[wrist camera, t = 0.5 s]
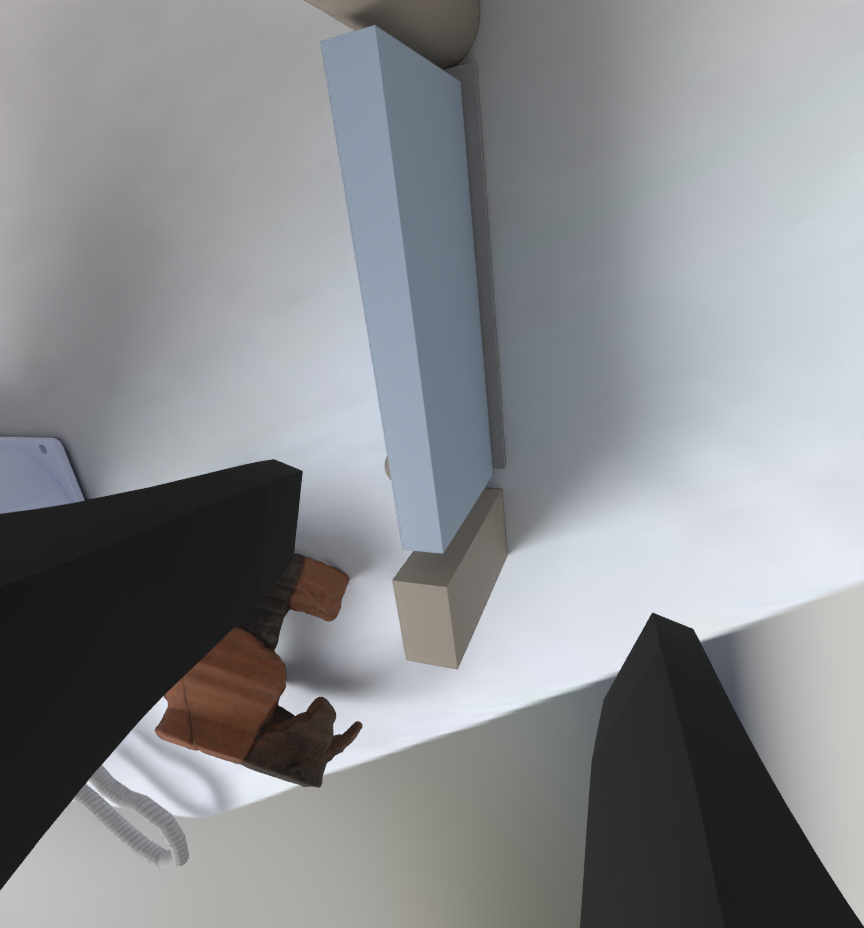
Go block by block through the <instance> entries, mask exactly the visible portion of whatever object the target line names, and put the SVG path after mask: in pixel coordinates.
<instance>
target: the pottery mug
mask: <svg viewBox="0 0 864 928" xmlns="http://www.w3.org/2000/svg"><path fill="white" fill-rule="evenodd" d="M348 582H349V578H348V576H347V575H346V574H344V573H341V572H340V571H339V570H337V569H336V568H334V567H331V566H328V565H326V564H324V563H323V562H319V561H315V560H313V559H311V558H306V557H304V556H302V555H299V554H295V553H294V557H293V561H292V562H291V563H290V565H289V566H288V567H287V569H286V570H285V571H284V573H283V574H282V575H281V577H280V578H279V579H278V580H277V582H276V583H275V584H274V586H273V587H272V588H271V589H270V590H269V592H268V593H267V594H266V595H265V597H264V598H263V599H262V600H261V601H260V603H259V604H258V605H257V606H256V607H255V608H254V609H253V610H252V611H251V612H250V613H249V614H248V615H247V616H246V617H245V618H244V619H243V620H242V621H241V622H240V623H239V624H237V625H236V626H235V627H234V628H233V629H232V630H231V631H230V632H229V633H228V634H227V635H226V636H225V637H224V638H223V639H222V640H221V641H220V642H219V643H218V644H217V645H216V646H215V647H214V648H213V649H212V650H211V651H210V652H209V653H208V654H207V655H205V656H204V657H203V658H202V659H201V660H200V661H199V662H198V663H197V664H196V665H195V666H194V667H193V668H192V669H191V670H190V671H189V672H188V673H187V674H186V675H185V676H184V677H183V678H182V679H181V680H180V681H178V682H177V683H176V684H175V685H174V686H173V687H172V688H171V689H170V690H169V691H168V692H167V693H166V694H165V695H164V698H165V699H166V700H167V701H168V708H167V710H166V712H165V714H164V716H163V718H162V720H161V721H160V723H159V724H158V726H157V727H156V728H155V733H156V734H157V735H158V737H160V738H161V739H163V740H166V741H168V742H171V743H174V744H177V745H180V746H183V747H186V748H188V749H192V750H200V751H201V752H203V753H205V754H208V755H211V756H214V757H217V758H220V759H223V760H226V761H230V762H233V763H236V764H241V765H243V766H245V767H247V768H249V769H252V770H254V771H257V772H260V773H263V774H267V775H269V776H272V777H276V778H279V779H282V780H285V781H288V782H292V783H295V784H299V785H301V786H303V787H310V786H313V787H318V788H319V787H321V784H322V777H323V773H324V770H325V767H326V764H327V762H329V761H331V760H332V759H333V757H334V756H335V755H337V754H339V753H341V752H343V750H344V749H345V748H346V747H347V746H348V745H350V744H351V743H352V742H353V740H354V739H355V738H356V737H357V735H358V733H359V732H360V730H361V728H362V723H361V722H358V721H357V722H355V723H354V724H353V725H352V726H351V727H350V728H349V729H348V730H347V731H346V732H345V733H343V734H342V735H341V734H338V735H334V736H333V723H334V721H335V719H336V712H335V710H334V708H333V707H332V705H331V704H330V703H329V701H328V700H327V699H325V698H324V697H318V698H316V699H315V700H314V701H313V702H312V704H311V705H310V706H309V708H308V710H307V711H306V712H304V713H300V714H298V715H296V716H294V715H293V714H292V713H290V712H288V711H287V710H285V709H284V708H283V707H281V706H279V705H278V702H279V698H280V696H281V695H282V693H283V692H284V690H285V688H286V683H285V681H286V668H285V664H284V662H283V661H282V660H281V658H280V657H279V656H278V655H277V654H276V653H275V651H274V650H275V648H276V646H277V643H278V638H279V634H280V630H281V626H282V623H283V619H284V617H285V616H286V614H287V612H288V611H289V610H294V611H302V612H305V613H307V614H311V615H313V616H316V617H319V618H322V619H324V620H325V621H328V622H329V621H333V620H334V619H335V618H336V617H337V615H338V613H339V611H340V608H341V600H342V597H343V595H344V593H345V590H346V587H347V584H348Z"/></svg>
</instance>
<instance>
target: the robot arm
mask: <svg viewBox="0 0 864 928" xmlns="http://www.w3.org/2000/svg"><path fill="white" fill-rule="evenodd" d="M302 473H303V471H301V470H299V469H296V468H294V467H292V466H289V465H287V464H284V463H282V462H279V461H277V460H274V459H273V460H266V461H260V462H255V463H250V464H246V465H241V466H237V467H232V468H228V469H224V470H220V471H216V472H212V473H207V474H203V475H199V476H195V477H191V478H187V479H182V480H178V481H174V482H170V483H166V484H161V485H157V486H153V487H149V488H144V489H139V490H134V491H129V492H124V493H119V494H114V495H109V496H105V497H100V498H95V499H90V500H85V499H84V497H83V494H82V492H81V489H80V487H79V484H78V482H77V479H76V477H75V475H74V472H73V470H72V467H71V465H70V462H69V460H68V457H67V455H66V452H65V450H64V447H63V445H62V443H61V442H60V441H59V440H57V439H56V438H45V437H0V890H1V889H2V888H3V886H4V885H5V884H6V882H7V881H8V880H9V879H10V877H11V876H12V874H13V873H14V872H15V871H16V870H17V868H18V867H19V866H20V864H21V863H22V862H23V861H24V859H25V858H26V856H27V855H28V854H29V853H30V852H31V850H32V849H33V848H34V846H35V845H36V844H37V843H38V841H39V840H40V839H41V838H42V836H43V835H44V834H45V832H46V831H47V830H48V829H49V828H50V827H51V825H52V824H53V823H54V821H55V820H56V819H57V818H58V817H59V816H60V814H61V813H62V812H63V811H64V809H65V808H66V807H67V806H68V805H69V803H70V802H71V801H72V800H73V799H74V797H75V796H76V795H77V794H78V792H79V791H80V790H81V789H82V788H83V786H84V785H85V784H86V783H87V782H88V780H89V779H90V778H91V777H92V775H93V774H94V773H95V772H96V771H97V770H98V768H99V767H100V766H101V765H102V764H103V763H104V761H105V760H106V759H107V758H108V757H109V756H110V754H111V753H112V752H113V751H114V750H115V749H116V748H117V746H118V745H119V744H120V743H121V742H122V741H123V739H124V738H125V737H126V736H127V735H128V734H129V732H130V731H131V730H132V729H133V728H134V727H135V726H136V724H137V723H138V722H139V721H140V720H141V719H142V718H143V717H144V716H145V715H146V714H147V713H148V711H149V710H150V709H151V708H152V707H153V706H154V705H155V704H156V703H157V702H158V701H159V700H160V699H161V698H162V697H163V696H164V695H165V694H166V693H167V692H168V691H169V690H170V689H171V688H172V687H173V686H174V685H175V684H176V683H177V682H178V681H180V680H181V679H182V678H183V677H184V676H185V675H186V674H187V673H188V672H189V671H190V670H191V669H192V668H193V667H194V666H195V665H196V664H197V663H198V662H199V661H200V660H201V659H202V658H203V657H204V656H205V655H207V654H208V653H209V652H210V651H211V650H212V649H213V648H214V647H215V646H216V645H217V644H218V643H219V642H220V641H221V640H222V639H223V638H224V637H225V636H226V635H227V634H228V633H229V632H230V631H231V630H232V629H233V628H234V627H235V626H236V625H237V624H239V623H240V622H241V621H242V620H243V619H244V618H245V617H246V616H247V615H248V614H249V613H250V612H251V611H252V610H253V609H254V608H255V607H256V606H257V605H258V604H259V603H260V601H261V600H262V599H263V598H264V597H265V595H266V594H267V593H268V592H269V590H270V589H271V588H272V587H273V586H274V584H275V583H276V582H277V580H278V579H279V578H280V577H281V575H282V574H283V573H284V571H285V570H286V569H287V567H288V566H289V565H290V563H291V562H292V561H293V557H294V547H295V538H296V529H297V520H298V510H299V501H300V492H301V482H302ZM580 928H864V926H863V925H862V923H861V922H860V920H859V919H858V917H857V916H856V915H855V913H854V912H853V910H852V909H851V907H850V906H849V904H848V903H847V901H846V900H845V898H844V897H843V895H842V894H841V892H840V891H839V889H838V887H837V886H836V884H835V883H834V881H833V880H832V878H831V876H830V875H829V873H828V872H827V870H826V869H825V867H824V866H823V864H822V862H821V861H820V859H819V857H818V856H817V854H816V852H815V851H814V849H813V848H812V846H811V844H810V843H809V841H808V839H807V838H806V836H805V834H804V833H803V831H802V829H801V828H800V826H799V824H798V823H797V821H796V820H795V818H794V816H793V814H792V813H791V811H790V809H789V808H788V806H787V805H786V803H785V801H784V799H783V798H782V796H781V794H780V793H779V791H778V789H777V787H776V785H775V784H774V782H773V780H772V779H771V777H770V775H769V773H768V772H767V770H766V768H765V766H764V764H763V762H762V761H761V759H760V757H759V755H758V753H757V751H756V750H755V748H754V746H753V744H752V742H751V740H750V739H749V737H748V735H747V733H746V731H745V729H744V727H743V726H742V724H741V722H740V720H739V718H738V716H737V714H736V712H735V710H734V709H733V706H732V704H731V702H730V700H729V698H728V696H727V694H726V693H725V691H724V689H723V687H722V685H721V683H720V681H719V679H718V677H717V675H716V673H715V671H714V669H713V667H712V665H711V663H710V661H709V659H708V657H707V655H706V653H705V651H704V649H703V647H702V645H701V643H700V641H699V639H698V637H697V635H696V633H695V631H694V629H692V628H689V627H687V626H684V625H682V624H679V623H677V622H675V621H672V620H670V619H667V618H665V617H662V616H660V615H657V614H655V613H652V614H651V616H650V618H649V619H648V621H647V623H646V625H645V627H644V628H643V630H642V632H641V634H640V636H639V637H638V639H637V641H636V643H635V645H634V646H633V648H632V650H631V652H630V653H629V655H628V657H627V659H626V661H625V662H624V664H623V666H622V668H621V670H620V671H619V673H618V675H617V677H616V679H615V680H614V682H613V684H612V686H611V688H610V689H609V691H608V693H607V695H606V696H605V698H604V701H603V706H602V711H601V716H600V721H599V726H598V731H597V736H596V741H595V747H594V753H593V758H592V766H591V778H590V792H589V805H588V819H587V834H586V848H585V863H584V878H583V892H582V907H581V922H580Z"/></svg>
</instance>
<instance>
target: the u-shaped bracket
mask: <svg viewBox="0 0 864 928" xmlns="http://www.w3.org/2000/svg"><path fill="white" fill-rule="evenodd" d="M305 1H307V2H308V3H310V4H312V5H313V6H315V7H317V8H318V9H320V10H322V11H323V12H325V13H327V14H328V15H330V16H332V17H333V18H335V19H337V20H338V21H340V22H342V23H343V24H345V25H347V26H348V27H350V28H352V29H353V30H355V31H357V30H360V29H363V28H367V27H370V26H373V25H376V26H377V27H379V28H380V29H382V30H383V31H385V32H386V33H388V34H389V35H391V36H392V37H394V38H395V39H397V40H398V41H400V42H401V43H403V44H404V45H406V46H407V47H409V48H410V49H412V50H413V51H415V52H416V53H418V54H419V55H421V56H422V57H424V58H425V59H427V60H428V61H430V62H431V63H433V64H434V65H436V66H437V67H439V68H440V69H442V70H443V71H445V72H446V73H448V74H449V75H451V76H452V77H454V78H455V79H457V80H458V81H460V82H461V94H462V106H463V118H464V130H465V142H466V155H467V166H468V179H469V191H470V203H471V215H472V227H473V239H474V251H475V263H476V275H477V287H478V299H479V311H480V323H481V335H482V347H483V359H484V371H485V383H486V395H487V407H488V419H489V431H490V443H491V455H492V467H493V468H505V467H506V459H505V446H504V432H503V418H502V405H501V391H500V377H499V364H498V350H497V336H496V323H495V309H494V295H493V281H492V268H491V254H490V240H489V227H488V213H487V199H486V186H485V172H484V158H483V145H482V131H481V117H480V104H479V90H478V76H477V63H476V62H475V61H473V62H470V63H466V64H462V65H458V66H455V65H456V64H458V63H459V62H460V61H461V60H462V59H463V58H464V56H465V55H466V54H467V52H468V51H469V49H470V48H471V46H472V44H473V42H474V39H475V37H476V34H477V30H478V26H479V20H480V2H479V0H305ZM453 66H454V67H453ZM506 558H507V544H506V532H505V519H504V506H503V493H502V489H493V488H484V490H483V491H482V493H481V494H480V496H479V498H478V499H477V501H476V502H475V504H474V506H473V507H472V509H471V510H470V512H469V514H468V515H467V517H466V518H465V520H464V522H463V523H462V525H461V526H460V528H459V529H458V531H457V533H456V534H455V536H454V537H453V539H452V541H451V542H450V544H449V545H448V547H447V549H446V550H445V552H444V553H443V554H441V553H431V552H421V551H413V553H412V554H411V555H410V557H409V558H408V559H407V561H406V562H405V564H404V565H403V566H402V568H401V569H400V571H399V572H398V573H397V575H396V576H395V577H394V579H393V580H392V581H393V587H394V593H395V599H396V604H397V610H398V616H399V622H400V627H401V633H402V639H403V644H404V650H405V656H406V660H409V661H414V662H420V663H425V664H430V665H436V666H441V667H447V668H452V669H458V667H459V665H460V663H461V660H462V658H463V656H464V654H465V651H466V649H467V647H468V644H469V642H470V640H471V638H472V635H473V633H474V631H475V629H476V626H477V624H478V622H479V619H480V617H481V615H482V613H483V610H484V608H485V606H486V603H487V601H488V599H489V597H490V594H491V592H492V590H493V587H494V585H495V583H496V581H497V578H498V576H499V574H500V571H501V569H502V567H503V565H504V562H505V560H506Z"/></svg>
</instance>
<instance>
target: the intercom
mask: <svg viewBox="0 0 864 928" xmlns="http://www.w3.org/2000/svg"><path fill="white" fill-rule="evenodd" d="M89 781H90V782H91V783H92V785H93V786H94V787H95V788H96V789H97V790H98V791H99V792H100V793H101V794H102V795H103V796H105V797H106V798H108V799H109V800H110V801H112V802H113V803H115V804H116V805H118V806H119V807H121V808H123V809H126V810H129V811H131V812H134V813H136V814H138V815H139V816H140V817H142V818H143V819H145V820H146V821H147V822H149V823H150V824H151V825H153V826H154V827H155V828H157V829H158V830H159V832H160V833H161V835H162V836H163V838H164V839H165V841H166V843H167V844H168V846H169V847H170V850H169V851H167V850H166V849H164V848H162V847H161V846H159V845H157V844H156V843H154V842H153V841H151V840H149V839H148V838H147V837H146V836H144V835H143V834H142V833H141V832H140V831H138V830H137V829H136V828H135V827H134V826H132V825H131V824H130V823H129V822H128V821H127V820H126V819H125V818H123V817H122V816H121V815H120V814H119V813H118V812H117V811H116V810H115V809H114V808H113V807H112V806H111V805H110V804H108V803H107V802H106V801H105V800H104V799H103V798H102V797H101V796H100V795H99V794H98V793H96V792H95V791H94V790H93V789H91V788H90V787H89V786H88V785H86V784H85V785H84V786H83V788H82V789H81V790H80V791H79V792H78V794H77V795H76V796H75V797H74V800H75V801H77V802H78V803H79V804H80V805H82V806H83V807H84V808H85V809H86V810H88V811H89V812H90V813H91V814H92V815H93V816H94V817H95V818H96V819H97V820H98V821H99V822H100V823H101V824H103V825H104V826H105V827H106V828H107V829H108V830H109V831H110V832H111V833H112V834H113V835H115V837H117V838H118V839H119V840H120V841H121V842H122V843H124V844H125V845H126V846H127V847H128V848H130V849H131V850H132V851H133V852H135V853H136V854H137V855H138V856H140V857H141V858H143V859H145V860H146V861H148V862H150V863H151V864H153V865H155V866H156V867H158V868H159V869H164V868H170V867H177V866H182V865H184V864H185V863H186V862H187V860H188V858H189V853H188V848H187V843H186V838H185V834H184V833H183V831H182V829H181V828H180V826H179V825H178V823H177V821H176V820H175V818H174V817H173V815H172V814H171V813H169V812H168V811H167V810H165V809H164V808H163V807H161V806H160V805H158V804H157V803H156V802H154V801H153V800H152V799H150V798H149V797H148V796H145V795H142V794H139V793H137V792H134V791H131V790H130V789H128V788H127V787H126V786H124V785H123V784H121V783H120V782H118V781H117V780H115V779H114V778H113V777H112V776H111V774H110V773H109V772H108V771H107V770H106V769H105V768H104V767H103V766H102V765H101V766H100V767H99V768H98V770H97V771H96V772H95V773H94V774H93V775H92V777H91V778H90V779H89Z"/></svg>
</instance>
